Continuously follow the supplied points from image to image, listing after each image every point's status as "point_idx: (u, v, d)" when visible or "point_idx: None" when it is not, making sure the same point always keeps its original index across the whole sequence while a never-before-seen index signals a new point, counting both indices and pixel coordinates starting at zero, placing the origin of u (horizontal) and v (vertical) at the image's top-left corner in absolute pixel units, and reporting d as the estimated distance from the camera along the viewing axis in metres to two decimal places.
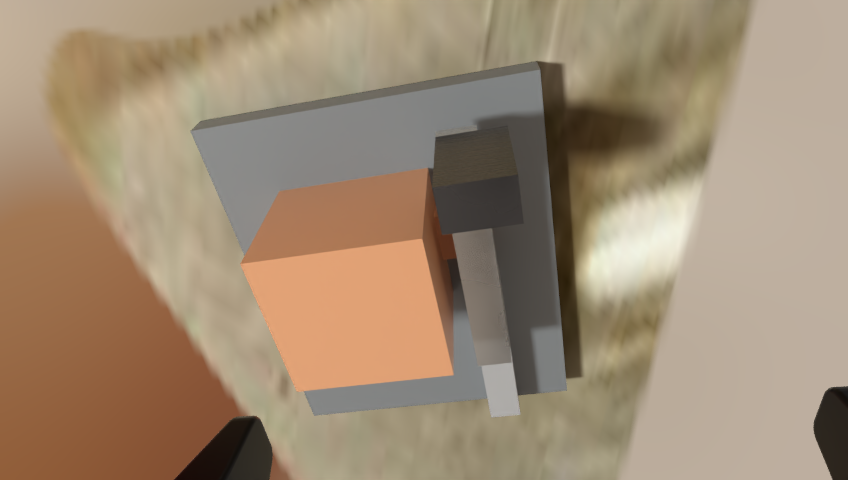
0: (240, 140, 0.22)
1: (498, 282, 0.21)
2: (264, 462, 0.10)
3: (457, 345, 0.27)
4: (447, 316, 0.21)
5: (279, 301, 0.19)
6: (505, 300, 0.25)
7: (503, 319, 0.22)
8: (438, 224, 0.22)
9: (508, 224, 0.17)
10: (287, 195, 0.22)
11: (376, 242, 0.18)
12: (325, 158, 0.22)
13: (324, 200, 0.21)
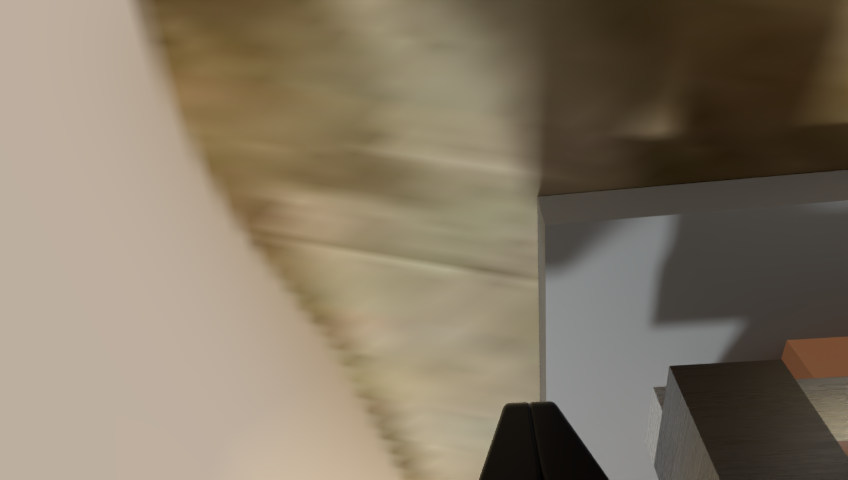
0: None
1: None
2: None
3: None
4: None
5: None
6: None
7: None
8: None
9: None
10: None
11: None
12: None
13: None
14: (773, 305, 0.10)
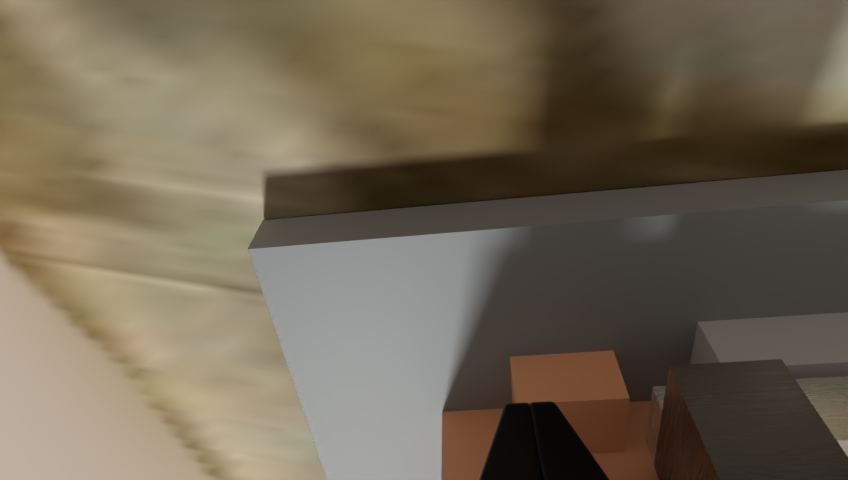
0: None
1: None
2: None
3: None
4: None
5: None
6: (806, 311, 0.10)
7: None
8: None
9: None
10: None
11: None
12: None
13: None
14: (485, 324, 0.11)
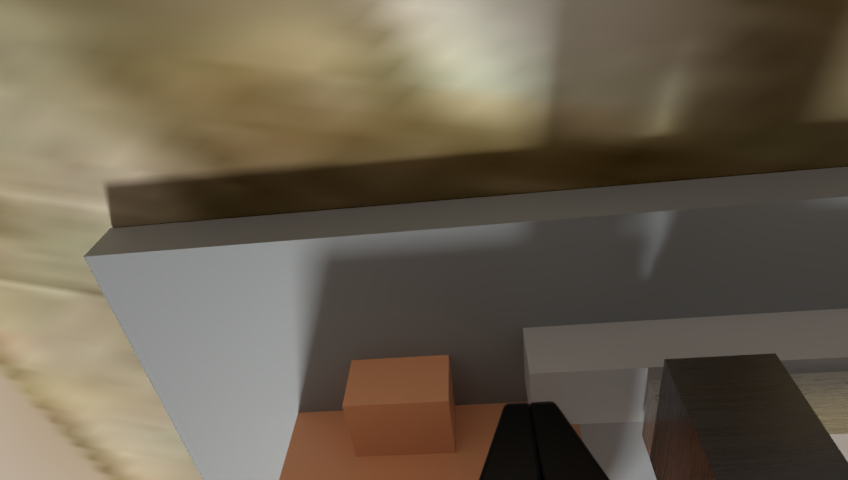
0: None
1: None
2: None
3: None
4: None
5: None
6: (624, 318, 0.11)
7: None
8: (373, 452, 0.11)
9: None
10: None
11: None
12: None
13: None
14: (322, 329, 0.11)
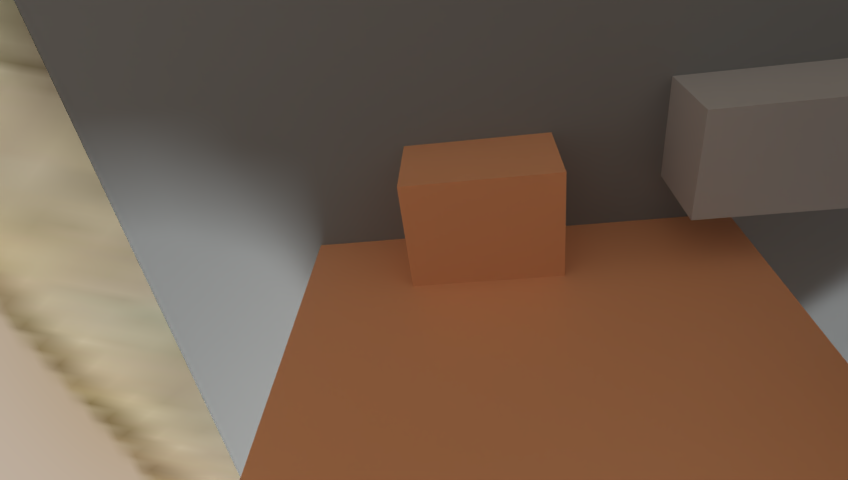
0: None
1: None
2: None
3: None
4: (716, 400, 0.06)
5: None
6: (835, 53, 0.07)
7: None
8: (438, 277, 0.08)
9: None
10: None
11: None
12: None
13: None
14: (362, 86, 0.07)
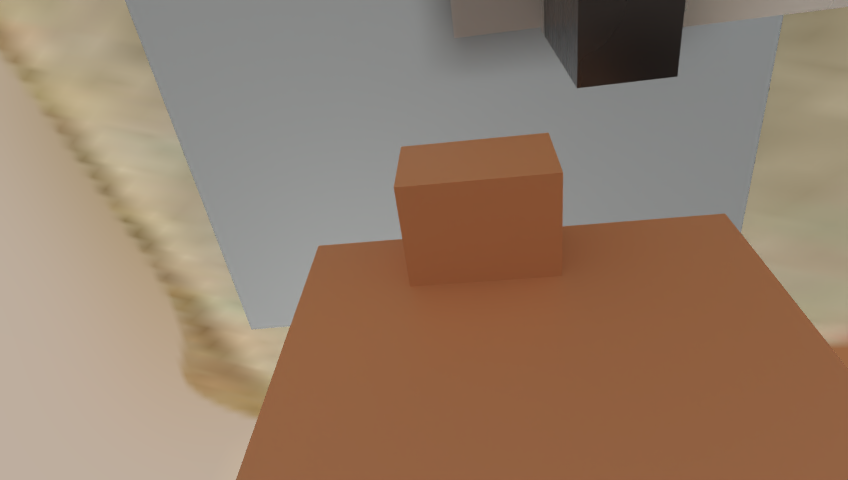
0: (256, 288, 0.19)
1: None
2: None
3: None
4: (712, 401, 0.06)
5: None
6: None
7: None
8: (435, 278, 0.08)
9: None
10: None
11: None
12: (269, 206, 0.17)
13: None
14: None
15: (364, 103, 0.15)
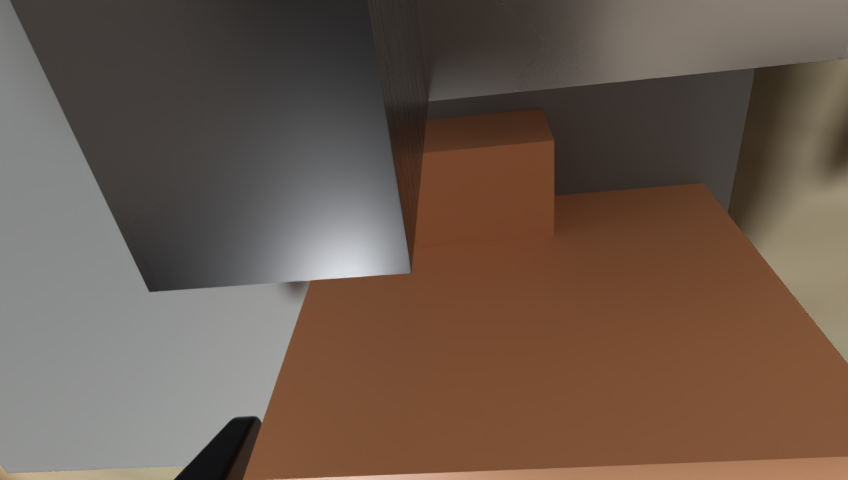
0: None
1: None
2: None
3: (488, 101, 0.08)
4: (683, 333, 0.06)
5: None
6: None
7: None
8: (440, 239, 0.08)
9: None
10: None
11: None
12: None
13: None
14: None
15: (78, 181, 0.10)
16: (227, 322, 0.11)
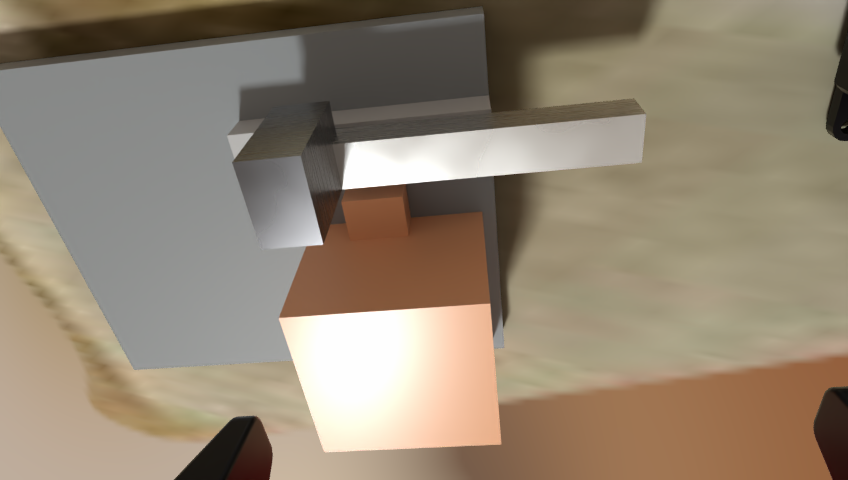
0: (133, 339, 0.24)
1: (485, 131, 0.15)
2: (264, 462, 0.10)
3: None
4: (440, 272, 0.17)
5: (369, 435, 0.19)
6: None
7: (554, 125, 0.15)
8: (359, 237, 0.19)
9: (305, 172, 0.13)
10: None
11: (292, 352, 0.17)
12: (134, 279, 0.22)
13: None
14: (121, 124, 0.19)
15: (195, 210, 0.20)
16: (262, 279, 0.22)
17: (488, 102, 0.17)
